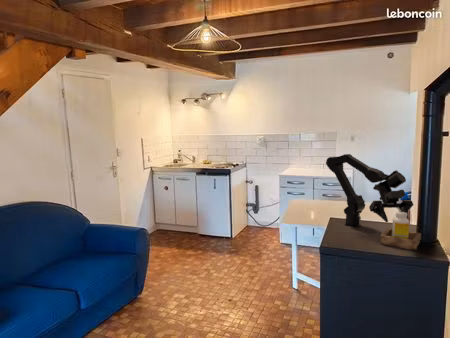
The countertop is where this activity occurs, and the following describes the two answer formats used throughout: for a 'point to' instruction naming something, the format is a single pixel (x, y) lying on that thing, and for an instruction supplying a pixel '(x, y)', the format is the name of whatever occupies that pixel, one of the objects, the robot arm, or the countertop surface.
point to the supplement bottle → (400, 225)
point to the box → (401, 240)
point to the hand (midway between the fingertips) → (397, 221)
